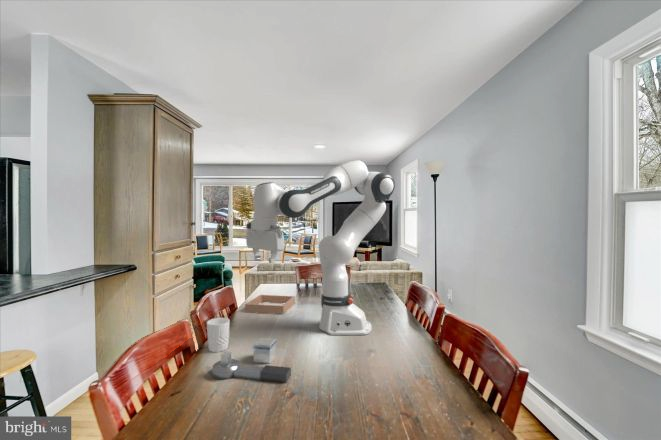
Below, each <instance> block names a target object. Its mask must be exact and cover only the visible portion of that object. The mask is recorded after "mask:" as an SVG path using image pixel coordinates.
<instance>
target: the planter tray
mask: <svg viewBox="0 0 661 440" xmlns="http://www.w3.org/2000/svg"><path fill="white" fill-rule="evenodd" d="M261 302H270V303H269V304H262V303H261ZM259 303H260V304H259ZM281 303H285V304H282V305H279V304H281ZM277 304H278V305H277ZM295 304H296V296H295V295H294V296H292V295H276V294H274V295H272V294H270V295H269V294H259V295H258V296H256V297H255V298H253V299H251V300H249V301H248V302H247V303H245V304H244V313H249V312H258V313H257V314H266V313H274V314H273V315H284V314H286V313H287V312H288V311H289V310H290V309H291V308H292V307H293V306H294V305H295ZM287 310H288V311H287ZM286 311H287V312H286ZM285 312H286V313H285Z"/></svg>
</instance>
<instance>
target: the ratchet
mask: <svg viewBox="0 0 661 440" xmlns="http://www.w3.org/2000/svg"><path fill="white" fill-rule="evenodd" d="M211 368H212V372H211V373H212V378H214V379H216V380H219V381H221V380H222V381H223V380H229V379H232V378H242V379H251V380H252V379H253V380H260V381H266V382H277V383H285V384H286V383H287V382H288V381H289V379H290V378H291V376H292V373H291V367H288V366H278V365H277V366H276V365H265V366H257V365H247V364H246V365H245V364H241V362H240V361H239V360H238V359H234V358H232V352H231V351H223V353H221V354H220V360H219V361H217V362H215V363H214V364H213V365H212V367H211Z"/></svg>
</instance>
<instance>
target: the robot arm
mask: <svg viewBox="0 0 661 440" xmlns="http://www.w3.org/2000/svg"><path fill="white" fill-rule="evenodd" d="M395 187H396V183H395V179H394V178H393V176H391V175H390V174H389V173H386V172H379V171H369V170H368V167H367V165H366V164H365V163H364V162H363V161H362V160H358V159H355V160H351V161H349V162H344V163H342V164H339V165H337V166H335V167H333V168H332V169H330V170H329V171H327V172H326V173H325V174H324V176H323V179H322V180H321V181H318V182H317V183H315V184H313V185H310V186H309V187H307V188H304V189H291V190H285V189H284V188H282V187H280V186H279V185H277V184H276V183H275V182H263V183H259V184H257V185H256V186H255V188H254V191H253V204H252V206H253V211H254V213H253V216H252V217H253V218H252V220H251V221H249V222H247V223H246V224H245V229H246V234H245V235H246V236H245V237H246V239H245V240H246V241H245V242H246V247H247V249H248V248H249V249H252V252H253V253H252V254H253V255H254V260H255V261H261V259H262V257H261V255H260V250H262V251H269V252H270V253H269V254H270V257H269V258H268V263H269V264H275V263H276V258H277V256H278V253H280V252H284V250H285V237H284V232H283V229H282V228H281V225H278V216H282V217H286V218H290V219H298V218H300V217H302V216H303V215H305V213H306V212H307V211H309V209H310V208H311V207H312V206H313V205H315V204H316V203H319V202H320V201H322V200H324V199H326V198H328V197H330V196H338V195H340V194H341V195H342V194H344V193H346V192H349V191H351V190H352V189H354V190H355V192H356V193H358V194H359V195H362V196H364V198H363V200H362V202H361V203H360V204H359V205H358V206H357V207H356V208H355V209H354V210H353V211H352V213H351V214H349V215H348V216H347V218H346V219H345V220H344V221H343V223H342V225H341V227H340V228H339V230H338V231H337V232H336V234H334V235H327V236H325V237H323V238H322V239H321V240H320V241H319V243H318V252H319V260H320V262H319V263H320V267H321V276H322V277H321V278H322V294H321V297H320V298H321V299H320V300H321V301H320V303H321V304H320V305H321V316H320V322H319V326H318V328H319V330H320V331H323V332H325V333H327V334H328V335H331V336H345V335H346V336H348V335H349V336H354V335H355V336H357V335H358V336H360V335H361V336H364V335H368V334H369V333H371V331H372V328H373V327H372V323H371V322H370V321H368V320H367V317H366V313H365V312H364V310H362V309H361V308H360V307H359V306H357V305H356V304H354V303H353V302H354V296H353V294H349V274H348V272H347V268H346V267H347V266H346V264H348V263H349V262H351V261H352V260H353V258H354V255H355V252H356V250H357V248H358V247H359V245H360V243H361V242H362V241H363V240H364V239H365V237H366V236H367V235H368V234H369V233H370V232H371V230H372V229H373V228H374V226H376V225H377V224H378V222H379V221H380V220H381V218H382V217H383V215H384V214H385V212H386V210H387V204H386V202H387V201H389V199H390V197H391V196H392V194H393V192H394V191H395Z"/></svg>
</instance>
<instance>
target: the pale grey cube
mask: <svg viewBox="0 0 661 440" xmlns="http://www.w3.org/2000/svg"><path fill="white" fill-rule="evenodd" d="M276 343H277V339H276V338H274V337H273V338H271V337H270V338H269V337H260V338H258V339H257V340H256V341H255V342H254V343H253V344H252V345H253V346H252V349H253V363H258V364H259V363H260V364H271V363H272V361H273V360H274V359H275V358H276V357H277V344H276Z"/></svg>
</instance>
